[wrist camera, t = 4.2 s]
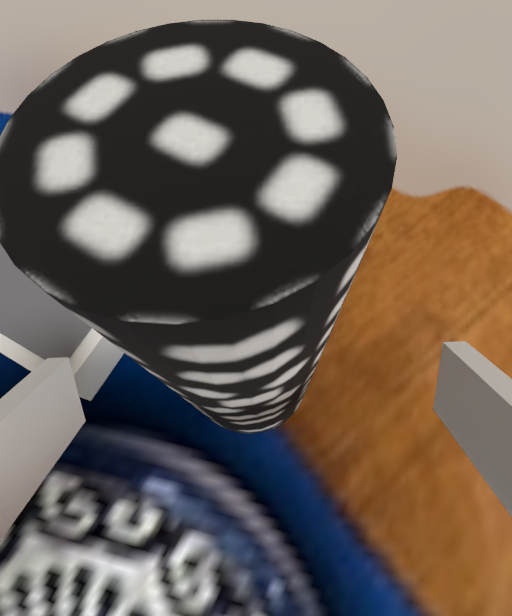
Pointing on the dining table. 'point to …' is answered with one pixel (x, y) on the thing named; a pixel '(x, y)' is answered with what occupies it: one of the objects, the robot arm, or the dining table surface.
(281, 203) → the spotted tube
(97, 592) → the dining table surface
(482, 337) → the dining table surface
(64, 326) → the tray
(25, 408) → the robot arm
